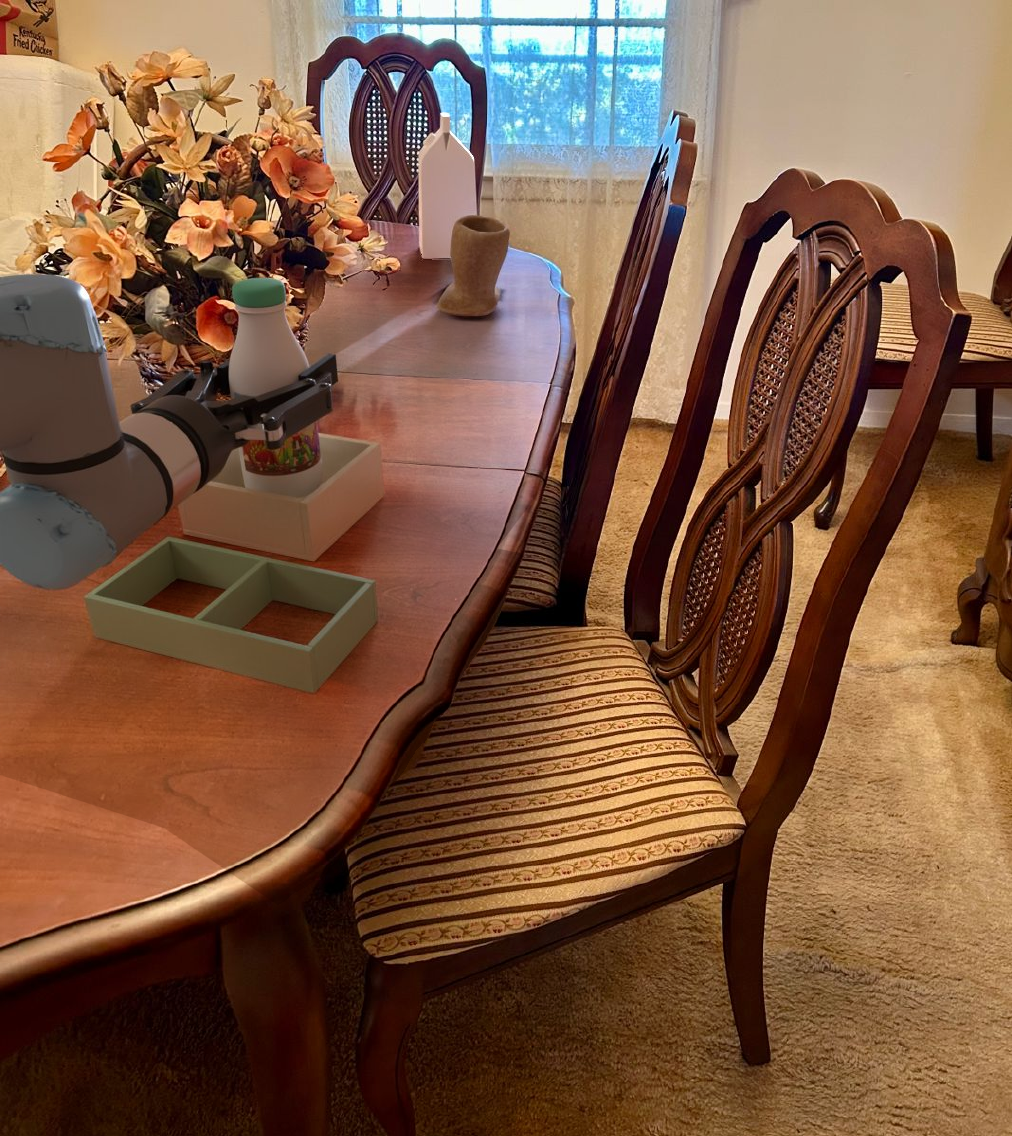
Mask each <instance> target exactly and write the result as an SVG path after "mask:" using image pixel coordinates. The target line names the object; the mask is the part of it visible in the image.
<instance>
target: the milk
mask: <svg viewBox="0 0 1012 1136" xmlns="http://www.w3.org/2000/svg"><path fill="white" fill-rule="evenodd" d="M439 120H440V121H439V126H440V127H439V128H438V129H437V131H436V132H430V133H429V134H428V136H427V137H426V138H425V139H424V141H423V142H422V145H423V146H422V147H421V149H419V151H418V157H417V158H418V162H417V163H418V165H417V166H418V169H417V170H418V238H419V239H418V248H419V252H420V255H421V254H422V255H421V258H450V251H451V238H452V230H453V227H454V224H455V222H456V221H457V220H458V219H459V218H461V217H464V216H468V215H478V209H477V208H478V207H477V206H478V205H477V186H476V185H477V184H476V166H475V158H474V156H473V155H472V153H471V152H470V151H469V150H468V148H466V146H465V145H464V144H463V143H462V142H461V140H459V139H458V138H457V136H456V135H454V134H453V133H452V131H451V116H450V114H449V113H448V112H440V118H439Z"/></svg>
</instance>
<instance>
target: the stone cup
mask: <svg viewBox="0 0 1012 1136" xmlns="http://www.w3.org/2000/svg"><path fill="white" fill-rule="evenodd" d="M510 237H511V231H510V228H509V226H507V224H505V222H503V221H500V220H499V219H496V218H493V217H490V216H485V215H478V214H477V215H468V216H464V217H461V218H459V219H458V220H457V221H456V222H455V224H454V227H453V230H452V238H451V251H450V257H451V259H450V262H451V266H452V272H453V281H452V282H451V283H449V285H448V286H447V287H446V288H445V290H444V292H442V295H440V297H439V300H438V301H437V309H438V310H439V311H440V312H443V313H445V314H448V315H451V316H452V315H453V316H460V317H484V316H487V315H489V314H491V313H492V312H493V311H495V309H496V308H497V306H498V303H499V301H500V298H501V295H502V290H501V289H500V288H499V287H497V286H496V285H497V283H498V279H499V276H500V273H501V270H502V268H503V265H504V263H505V262H506V261H505V260H506V257H507V254H508V251H509V245H510Z"/></svg>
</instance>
